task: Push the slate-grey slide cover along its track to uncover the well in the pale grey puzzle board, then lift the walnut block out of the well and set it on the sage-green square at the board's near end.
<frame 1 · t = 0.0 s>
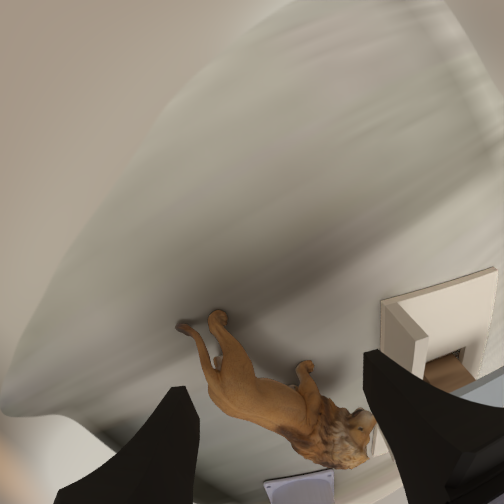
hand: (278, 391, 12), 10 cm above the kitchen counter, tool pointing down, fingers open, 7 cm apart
slide cover: (461, 421, 18), point 7 cm above the kitchen counter, slide at 0.0 cm
lion figurine: (274, 357, 23), on the kitchen counter
puzzle board: (432, 375, 25), on the kitchen counter
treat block: (432, 374, 25), resting in puzzle board
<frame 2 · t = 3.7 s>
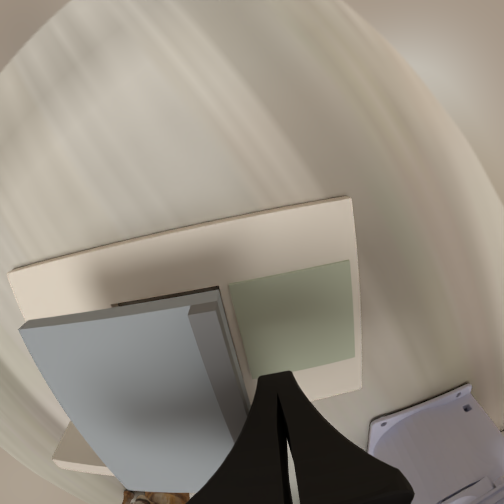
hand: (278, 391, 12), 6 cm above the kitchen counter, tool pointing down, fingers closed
slide cover: (155, 430, 11), point 7 cm above the kitchen counter, slide at 0.2 cm, touching gripper
lion figurine: (155, 476, 22), on the kitchen counter
puzzle board: (180, 336, 17), on the kitchen counter
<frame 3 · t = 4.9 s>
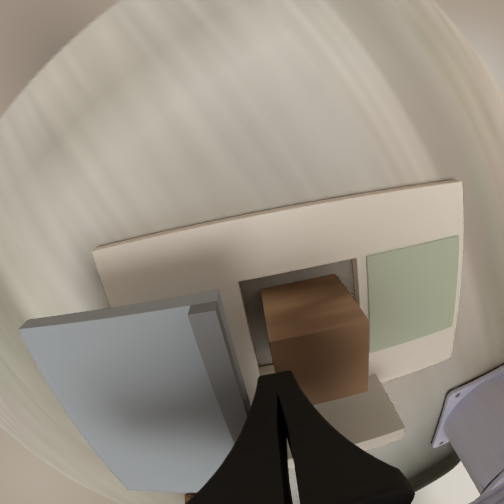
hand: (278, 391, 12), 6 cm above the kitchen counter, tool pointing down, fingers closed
slide cover: (155, 430, 11), point 7 cm above the kitchen counter, slide at 7.2 cm, touching gripper
puzzle board: (303, 314, 17), on the kitchen counter
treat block: (303, 314, 17), resting in puzzle board
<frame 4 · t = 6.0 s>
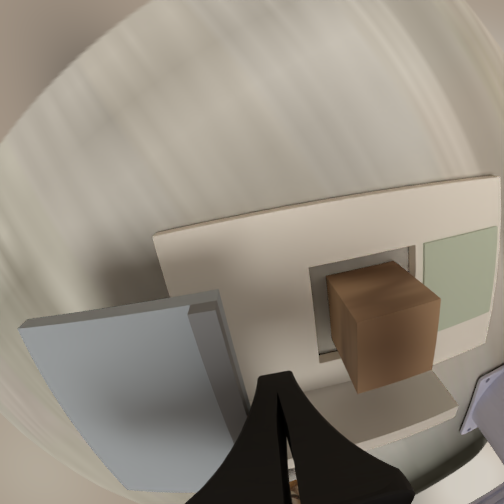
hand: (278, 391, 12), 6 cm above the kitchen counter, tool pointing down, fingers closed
slide cover: (154, 430, 11), point 7 cm above the kitchen counter, slide at 10.6 cm, touching gripper
puzzle board: (363, 301, 17), on the kitchen counter
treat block: (362, 300, 17), resting in puzzle board
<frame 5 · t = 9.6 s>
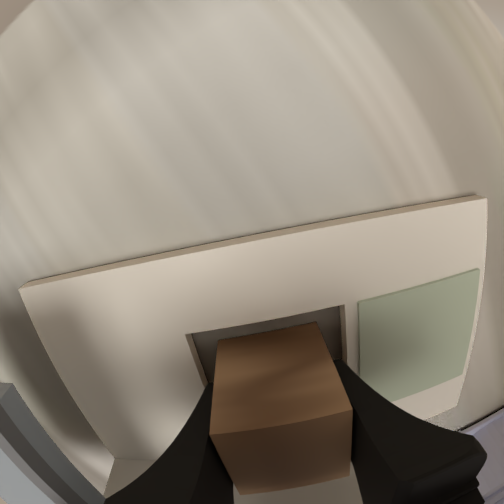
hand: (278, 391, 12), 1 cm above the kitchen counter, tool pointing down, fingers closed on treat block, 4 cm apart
slide cover: (22, 489, 7), point 7 cm above the kitchen counter, slide at 10.6 cm
puzzle board: (274, 369, 13), on the kitchen counter
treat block: (274, 369, 13), resting in puzzle board, touching gripper
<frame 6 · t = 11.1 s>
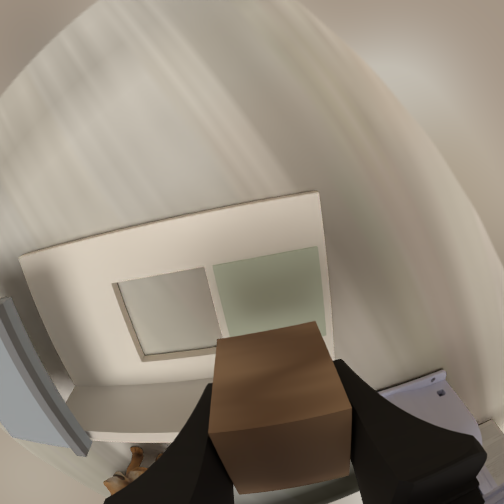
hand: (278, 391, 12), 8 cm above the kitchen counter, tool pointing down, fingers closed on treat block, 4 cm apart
slide cover: (5, 385, 14), point 7 cm above the kitchen counter, slide at 10.6 cm
lion figurine: (138, 460, 25), on the kitchen counter
puzzle board: (171, 313, 20), on the kitchen counter
skincare box: (470, 434, 27), on the kitchen counter
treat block: (273, 368, 13), point 7 cm above the kitchen counter, touching gripper
when the fingers open (3 cm above the kitchen counter, at t = 12.7 s): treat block stays where it is, resting on puzzle board.
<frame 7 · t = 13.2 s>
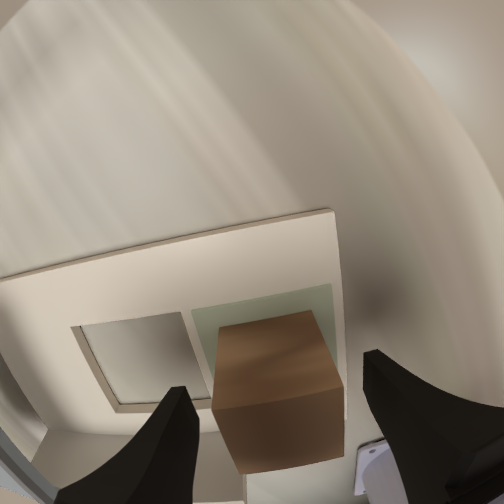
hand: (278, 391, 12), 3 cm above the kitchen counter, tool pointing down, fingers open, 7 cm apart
puzzle board: (145, 362, 15), on the kitchen counter
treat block: (272, 355, 14), point 1 cm above the kitchen counter, touching puzzle board
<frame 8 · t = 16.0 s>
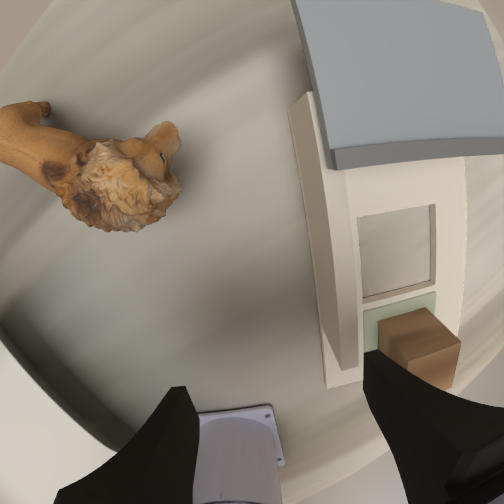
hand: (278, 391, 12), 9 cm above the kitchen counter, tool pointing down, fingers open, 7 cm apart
slide cover: (427, 70, 10), point 7 cm above the kitchen counter, slide at 10.6 cm
lion figurine: (101, 147, 18), on the kitchen counter
puzzle board: (395, 250, 20), on the kitchen counter
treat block: (401, 336, 21), point 1 cm above the kitchen counter, touching puzzle board
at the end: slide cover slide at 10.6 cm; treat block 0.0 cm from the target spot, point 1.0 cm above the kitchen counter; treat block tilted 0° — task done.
